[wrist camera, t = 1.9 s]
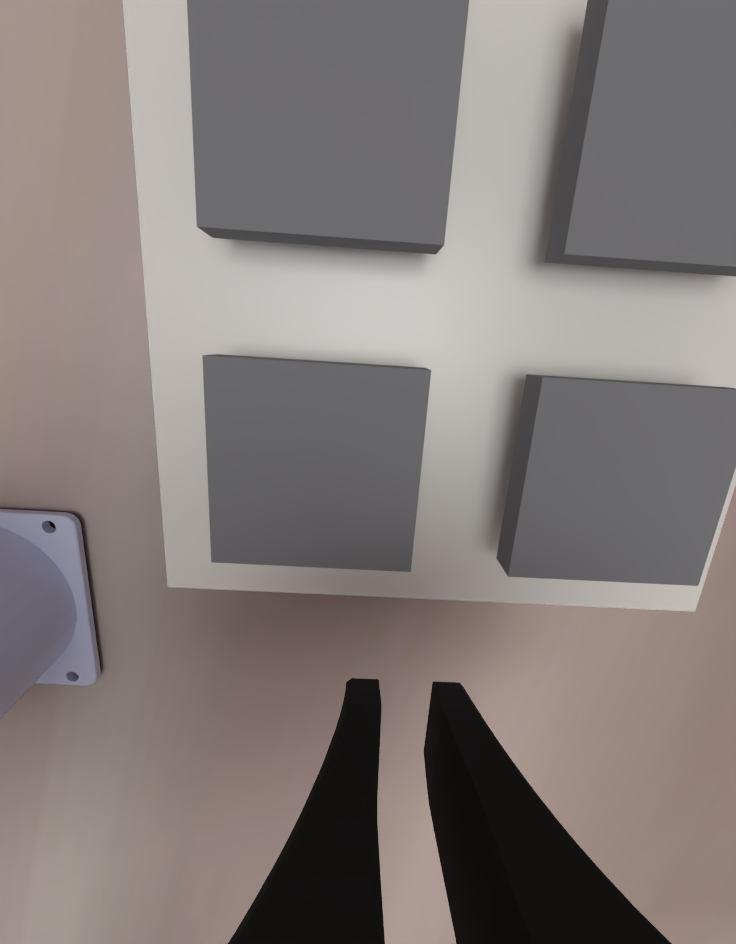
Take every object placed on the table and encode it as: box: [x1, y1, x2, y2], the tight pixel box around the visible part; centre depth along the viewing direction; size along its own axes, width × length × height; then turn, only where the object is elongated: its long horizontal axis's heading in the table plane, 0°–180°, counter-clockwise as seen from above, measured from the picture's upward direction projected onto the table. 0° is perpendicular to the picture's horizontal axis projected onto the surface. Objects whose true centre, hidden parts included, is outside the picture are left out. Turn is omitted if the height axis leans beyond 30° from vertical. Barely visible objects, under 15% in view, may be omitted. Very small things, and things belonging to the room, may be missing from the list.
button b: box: [496, 374, 736, 586], centre depth 14 cm, size 6×6×3 cm
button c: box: [187, 0, 469, 254], centre depth 11 cm, size 6×6×3 cm
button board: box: [123, 0, 736, 611], centre depth 15 cm, size 20×20×2 cm
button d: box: [545, 0, 736, 277], centre depth 12 cm, size 6×6×3 cm
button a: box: [202, 354, 431, 572], centre depth 14 cm, size 6×6×3 cm
